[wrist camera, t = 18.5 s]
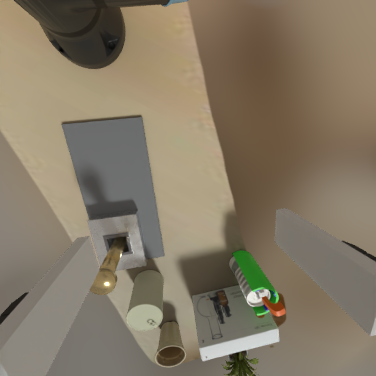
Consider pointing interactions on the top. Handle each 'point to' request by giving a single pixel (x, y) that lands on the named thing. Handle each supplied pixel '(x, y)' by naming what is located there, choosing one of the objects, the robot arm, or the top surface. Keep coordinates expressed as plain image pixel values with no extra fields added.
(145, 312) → the can
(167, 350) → the flower pot
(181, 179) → the top surface
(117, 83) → the top surface
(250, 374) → the house plant
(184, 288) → the top surface
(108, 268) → the pin
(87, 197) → the mat
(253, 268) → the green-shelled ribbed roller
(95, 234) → the grey flat rectangular block
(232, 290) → the skincare box
